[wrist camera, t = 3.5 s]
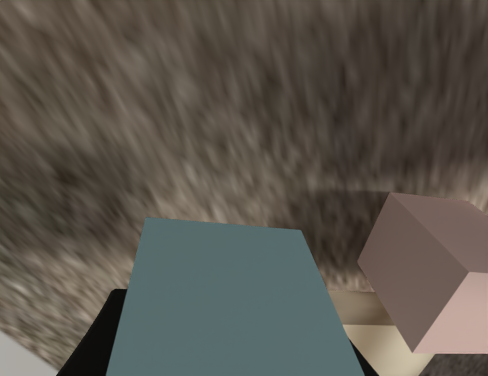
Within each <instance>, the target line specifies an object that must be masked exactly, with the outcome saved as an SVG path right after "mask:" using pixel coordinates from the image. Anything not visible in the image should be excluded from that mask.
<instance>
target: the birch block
mask: <svg viewBox="0 0 488 376" xmlns="http://www.w3.org/2000/svg"><path fill="white" fill-rule="evenodd" d="M327 291H328V293H329V295H330V298H331V300H332V302H333V304H334V307H335V309H336V311H337V314H338V316H339V318H340V320H341V323H342V325H343V327H344V330H345V332H346V334H347V336H348V338H349V339H350V340H351V341H352V343H353V344H354V345H355V347H356V348H357V349H358V350H359V351H360V353H361V354H362V355H363V356H364V358H365V359H366V360H367V361H368V363H369V364H370V365H371V366H372V367H373V369H374V370H375V371H376V372H377V373H378V375H379V376H419V374H420V373H421V372H422V370H423V369H424V368H425V367H426V365H427V364H428V363H429V361H430V360H431V359H432V357H433V356H434V355H435V354H429V353H412V352H411V351H410V349H409V347H408V346H407V344H406V342H405V341H404V339H403V337H402V336H401V334H400V332H399V331H398V329H397V327H396V326H395V324H394V322H393V321H392V319H391V318H390V316H389V314H388V313H387V311H386V309H385V308H384V306H383V304H382V303H381V301H380V299H379V298H378V296H377V294H376V293H375V292H357V291H336V290H327Z"/></svg>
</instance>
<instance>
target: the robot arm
mask: <svg viewBox="0 0 488 376" xmlns="http://www.w3.org/2000/svg"><path fill="white" fill-rule="evenodd" d="M127 290H128V289H114V290H113V291H111V293H110V295H109V297H108V299H107V301H106V302H105V304H104V306H103V308H102V309H101V311H100V313H99V314H98V316H97V318H96V319H95V321H94V322H93V324H92V325H91V327H90V329H89V330H88V332H87V333H86V335H85V336H84V337H83V339H82V340H81V342H80V343H79V345H78V346H77V348H76V349H75V350H74V352H73V353H72V355H71V356H70V358H69V359H68V360H67V362H66V363H65V364H64V366H63V367H62V368H61V370H60V371H59V372H58V374H57V375H56V376H106V373H107V369H108V365H109V361H110V357H111V353H112V349H113V345H114V341H115V337H116V333H117V329H118V326H119V322H120V318H121V314H122V310H123V306H124V302H125V298H126V294H127ZM348 339H349V338H348ZM349 341H350V343H351V345H352V348H353V350H354V352H355V355H356V357H357V359H358V361H359V364H360V366H361V368H362V371H363V373H364V375H365V376H379V375H378V373H377V372H376V371H375V370H374V369H373V367H372V366H371V365H370V364H369V363H368V361H367V360H366V359H365V358H364V356H363V355H362V354H361V353H360V351H359V350H358V349H357V348H356V347H355V345H354V344H353V343H352V341H351V340H350V339H349Z"/></svg>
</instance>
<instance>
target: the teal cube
mask: <svg viewBox="0 0 488 376" xmlns="http://www.w3.org/2000/svg"><path fill="white" fill-rule="evenodd" d="M106 376H365V375H364V373H363V371H362V368H361V366H360V364H359V361H358V359H357V357H356V355H355V352H354V350H353V348H352V345H351V343H350V341H349V339H348V336H347V334H346V332H345V330H344V327H343V325H342V323H341V320H340V318H339V316H338V314H337V311H336V309H335V307H334V304H333V302H332V300H331V298H330V295H329V293H328V291H327V288H326V286H325V284H324V282H323V279H322V277H321V275H320V272H319V270H318V268H317V266H316V263H315V261H314V259H313V256H312V254H311V252H310V250H309V247H308V245H307V243H306V240H305V238H304V236H303V234H302V231H301V230H294V229H282V228H270V227H258V226H246V225H234V224H222V223H210V222H198V221H186V220H175V219H163V218H151V217H146V218H145V222H144V226H143V230H142V234H141V238H140V242H139V246H138V250H137V254H136V258H135V262H134V266H133V270H132V274H131V278H130V282H129V286H128V290H127V294H126V298H125V302H124V306H123V310H122V314H121V318H120V322H119V326H118V329H117V333H116V337H115V341H114V345H113V349H112V353H111V357H110V361H109V365H108V369H107V373H106Z"/></svg>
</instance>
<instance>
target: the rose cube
mask: <svg viewBox="0 0 488 376" xmlns="http://www.w3.org/2000/svg"><path fill="white" fill-rule="evenodd" d="M357 263H358V265H359V266H360V268H361V269H362V271H363V273H364V274H365V276H366V278H367V279H368V281H369V283H370V284H371V286H372V288H373V289H374V291H375V293H376V294H377V296H378V298H379V299H380V301H381V303H382V304H383V306H384V308H385V309H386V311H387V313H388V314H389V316H390V318H391V319H392V321H393V322H394V324H395V326H396V327H397V329H398V331H399V332H400V334H401V336H402V337H403V339H404V341H405V342H406V344H407V346H408V347H409V349H410V351H411V352H412V353H429V354H488V216H487V215H486V214H485V213H483V212H482V211H481V210H479V209H478V208H477V207H475V206H474V205H473V204H471V203H470V202H469V201H464V200H455V199H446V198H438V197H429V196H420V195H411V194H402V193H394V192H389V195H388V197H387V199H386V201H385V203H384V205H383V207H382V210H381V212H380V214H379V216H378V218H377V220H376V222H375V224H374V227H373V229H372V231H371V233H370V235H369V237H368V239H367V242H366V244H365V246H364V248H363V250H362V252H361V254H360V257H359V259H358V261H357Z"/></svg>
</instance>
